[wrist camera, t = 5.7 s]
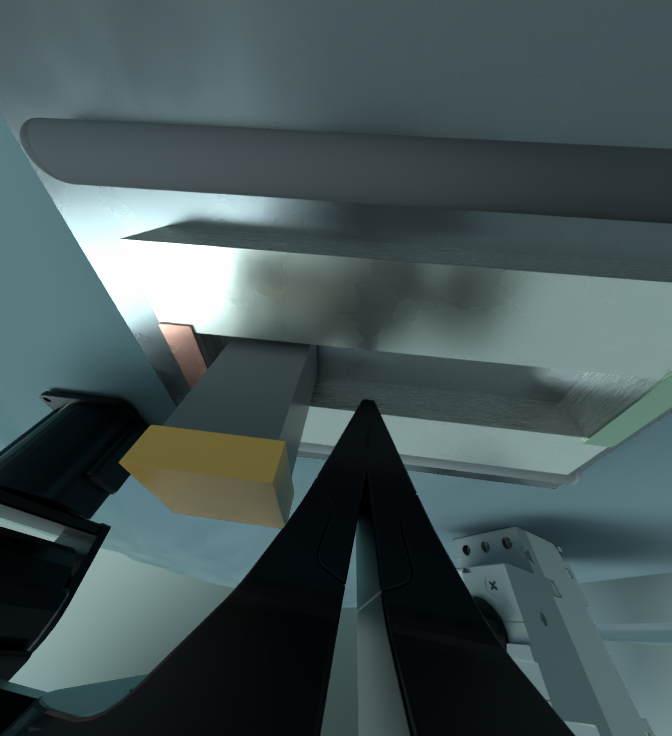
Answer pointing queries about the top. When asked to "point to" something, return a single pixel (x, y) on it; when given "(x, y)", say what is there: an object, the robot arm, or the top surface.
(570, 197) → the gray flat tray
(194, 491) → the breaker lever
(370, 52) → the breaker panel
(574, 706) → the circuit breaker
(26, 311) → the top surface
